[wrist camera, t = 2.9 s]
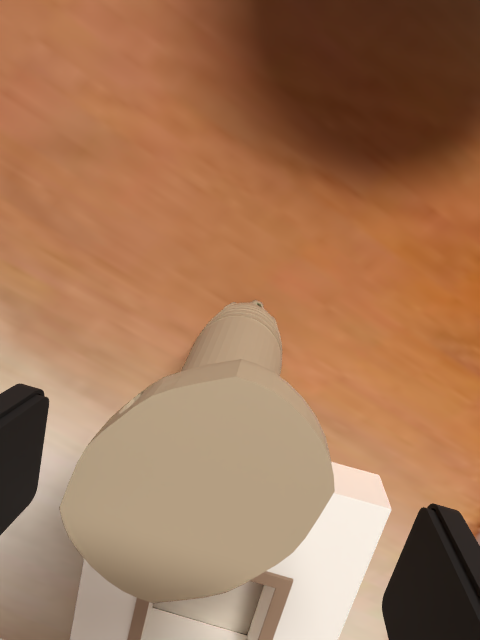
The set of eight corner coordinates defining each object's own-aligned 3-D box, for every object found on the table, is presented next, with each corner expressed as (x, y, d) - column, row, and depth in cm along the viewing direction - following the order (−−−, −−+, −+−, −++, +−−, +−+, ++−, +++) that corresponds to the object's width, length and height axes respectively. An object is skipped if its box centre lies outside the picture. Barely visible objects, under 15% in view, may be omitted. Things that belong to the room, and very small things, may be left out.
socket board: (126, 405, 26) (105, 431, 23) (379, 475, 25) (392, 511, 22) (78, 660, 31) (56, 708, 28) (282, 721, 31) (282, 777, 28)
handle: (319, 323, 23) (378, 504, 9) (231, 388, 25) (158, 634, 10) (264, 256, 23) (231, 330, 8) (178, 326, 24) (20, 495, 10)
